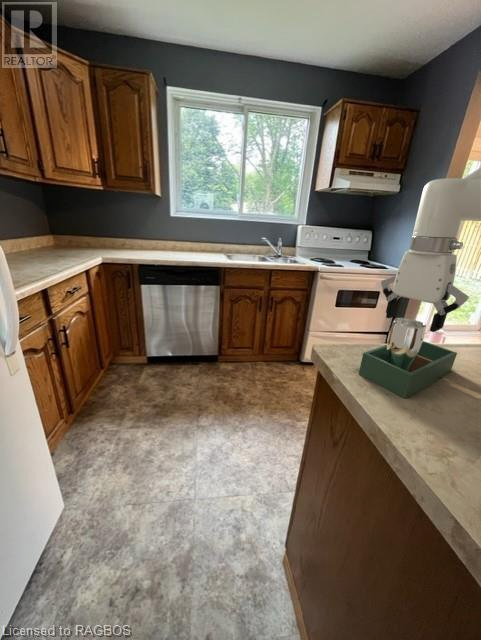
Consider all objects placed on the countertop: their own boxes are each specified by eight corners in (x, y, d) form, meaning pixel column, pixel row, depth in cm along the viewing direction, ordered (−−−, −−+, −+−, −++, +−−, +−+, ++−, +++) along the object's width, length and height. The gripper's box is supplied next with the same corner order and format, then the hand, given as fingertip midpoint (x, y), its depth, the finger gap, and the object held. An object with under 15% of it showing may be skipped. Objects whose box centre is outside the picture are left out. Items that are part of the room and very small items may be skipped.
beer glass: (392, 370, 71) (407, 316, 66) (416, 384, 65) (435, 326, 60) (372, 374, 69) (385, 318, 64) (395, 389, 63) (412, 329, 57)
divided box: (405, 354, 80) (410, 336, 78) (450, 373, 71) (457, 352, 69) (358, 373, 68) (363, 352, 66) (404, 398, 59) (412, 375, 57)
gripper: (490, 249, 51) (463, 333, 57) (399, 242, 65) (384, 310, 70) (474, 251, 47) (446, 340, 53) (381, 243, 61) (367, 315, 67)
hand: (411, 323), depth 62 cm, fingers open, 9 cm apart
